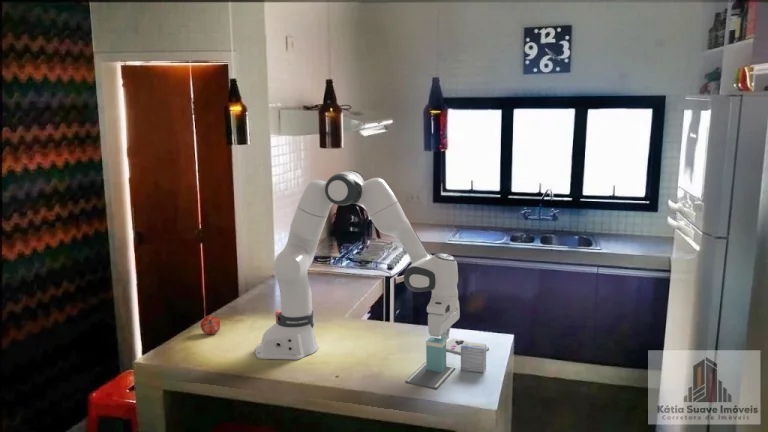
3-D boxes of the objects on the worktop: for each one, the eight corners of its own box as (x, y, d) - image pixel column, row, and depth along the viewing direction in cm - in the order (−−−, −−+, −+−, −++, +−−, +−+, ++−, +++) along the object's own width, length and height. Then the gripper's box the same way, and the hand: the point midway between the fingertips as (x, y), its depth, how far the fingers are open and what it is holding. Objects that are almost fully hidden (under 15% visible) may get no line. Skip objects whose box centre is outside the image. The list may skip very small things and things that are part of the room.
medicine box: (486, 368, 204) (486, 343, 203) (484, 373, 200) (484, 348, 199) (463, 365, 207) (463, 341, 205) (460, 370, 203) (460, 346, 201)
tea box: (441, 372, 201) (441, 343, 199) (426, 369, 203) (426, 341, 201) (446, 367, 204) (446, 339, 202) (430, 364, 207) (430, 336, 205)
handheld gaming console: (453, 337, 228) (489, 346, 220) (453, 341, 229) (489, 350, 220) (439, 346, 221) (476, 355, 212) (439, 350, 221) (476, 359, 212)
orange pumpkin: (200, 337, 241) (197, 330, 233) (203, 319, 245) (200, 311, 236) (220, 338, 242) (216, 331, 233) (222, 320, 246) (219, 312, 237)
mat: (437, 389, 190) (437, 387, 190) (405, 382, 195) (405, 381, 195) (455, 369, 204) (455, 367, 204) (425, 363, 209) (425, 362, 209)
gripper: (447, 291, 217) (447, 328, 219) (424, 309, 199) (424, 349, 201) (464, 293, 214) (464, 331, 216) (442, 311, 196) (442, 352, 198)
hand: (444, 339), depth 209 cm, fingers closed
